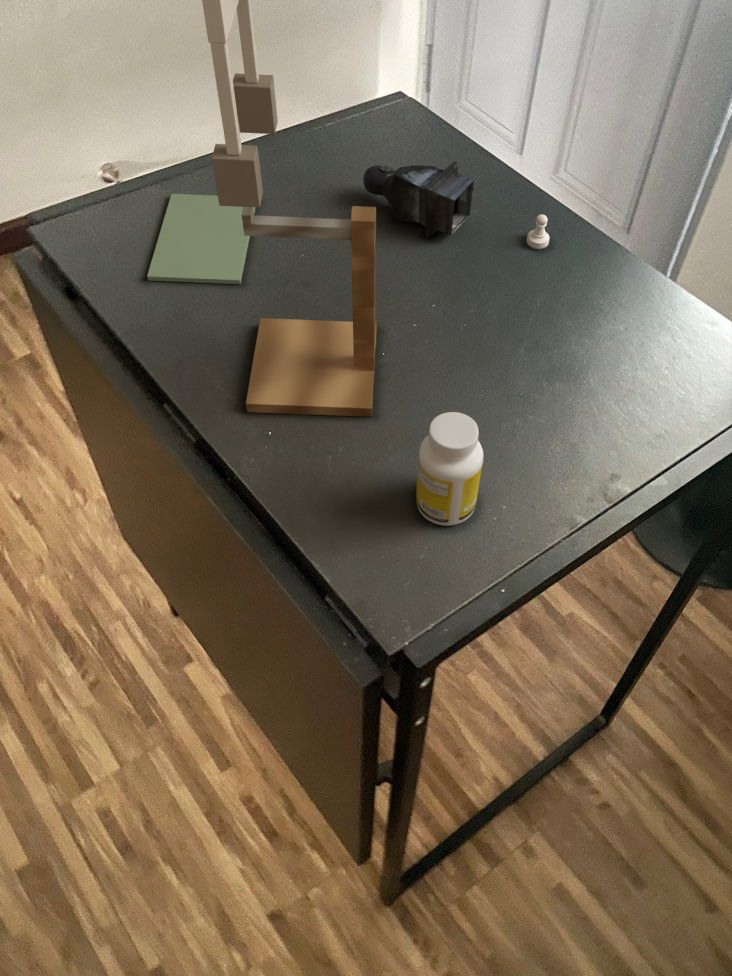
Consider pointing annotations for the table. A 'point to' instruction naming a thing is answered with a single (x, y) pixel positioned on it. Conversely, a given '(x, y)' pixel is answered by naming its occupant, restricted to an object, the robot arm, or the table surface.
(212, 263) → the mat
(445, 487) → the supplement bottle
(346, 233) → the stand
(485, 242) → the table surface
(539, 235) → the chess pawn
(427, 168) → the dark knob-ended part
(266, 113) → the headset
